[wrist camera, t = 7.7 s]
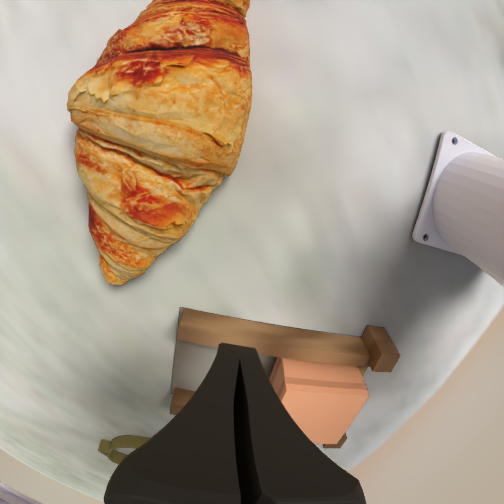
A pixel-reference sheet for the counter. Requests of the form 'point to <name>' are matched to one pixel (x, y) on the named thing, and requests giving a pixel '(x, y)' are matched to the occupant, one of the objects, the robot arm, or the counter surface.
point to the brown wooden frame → (268, 349)
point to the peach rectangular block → (319, 396)
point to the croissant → (160, 126)
